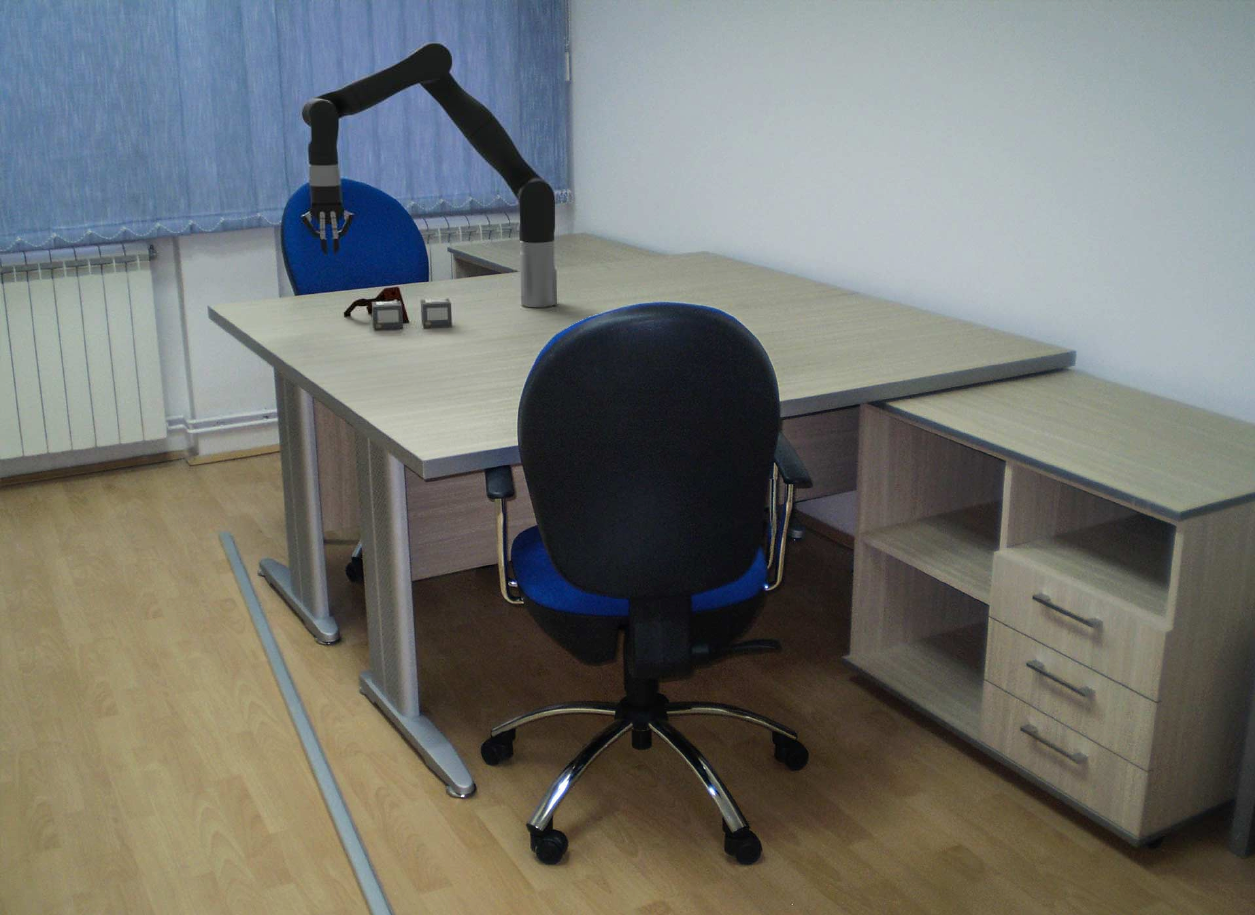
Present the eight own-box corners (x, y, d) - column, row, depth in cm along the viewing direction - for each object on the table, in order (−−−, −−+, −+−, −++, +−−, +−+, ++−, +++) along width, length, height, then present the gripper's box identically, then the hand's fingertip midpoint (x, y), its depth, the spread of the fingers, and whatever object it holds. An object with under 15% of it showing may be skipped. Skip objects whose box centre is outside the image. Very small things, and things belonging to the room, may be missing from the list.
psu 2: (449, 321, 321) (448, 297, 319) (452, 327, 315) (451, 302, 314) (421, 323, 320) (420, 299, 318) (423, 328, 314) (422, 303, 312)
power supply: (401, 324, 319) (400, 300, 317) (403, 329, 313) (401, 304, 311) (373, 325, 317) (371, 301, 315) (374, 331, 311) (372, 306, 309)
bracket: (371, 328, 315) (360, 290, 316) (352, 347, 327) (342, 310, 328) (410, 322, 320) (399, 285, 321) (390, 341, 332) (379, 305, 333)
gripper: (353, 180, 317) (357, 250, 323) (296, 182, 314) (302, 252, 320) (354, 184, 311) (359, 254, 316) (296, 185, 307) (302, 257, 313)
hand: (330, 253), depth 318 cm, fingers closed
